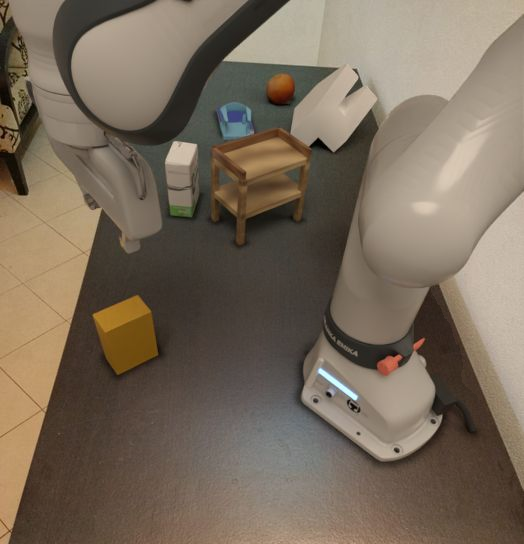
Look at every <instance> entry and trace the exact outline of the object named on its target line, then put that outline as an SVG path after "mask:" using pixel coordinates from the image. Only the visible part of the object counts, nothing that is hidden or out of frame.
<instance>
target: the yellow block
mask: <svg viewBox="0 0 524 544" xmlns="http://www.w3.org/2000/svg"><path fill="white" fill-rule="evenodd" d="M92 318H93V321H94V325H95V328H96V332H97V334H98V338H99V341H100V344H101V348H102V351H103V354H104V357H105V360H106V361H107V362H108V364H109V365H110V367H111V368H112V369H113V371H114V373H115V374H116V375H117V376H119V375H121V374H124V373H125V372H127V371H129V370H131V369H134V368H135V367H138V366H139V365H142V364H143V363H145V362H148V361H149V360H152V359H153V358H155V357H158V356H159V351H158V344H157V338H156V332H155V331H156V330H155V326H154V319H153V314H152V310H151V309H150V308H149V307H148V306H147V305H146V303H145V302H144V301H143V300H142V298H141V297H140V295H139V294H137V295H134V296H131V297H129V298H127V299H125V300H123V301H121V302H118V303H115V304H114V305H111V306H109V307H106V308H104V309H102V310H99V311H97V312H94V313H93V314H92Z"/></svg>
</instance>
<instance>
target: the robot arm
mask: <svg viewBox="0 0 524 544" xmlns="http://www.w3.org/2000/svg"><path fill="white" fill-rule="evenodd" d="M290 1H291V0H7V2H8V5H9V9H10V12H11V16H12V20H13V23H14V24H15V26H16V28H17V30H18V32H19V34H20V35H21V38H22V39H23V42H24V44H25V47H26V51H27V60H28V63H27V71H28V75H26V76H24V77H23V83H24V87H25V90H26V94H27V96H28V98H29V99H30V101H31V102H32V103H33V105H34V106H35V108H36V109H37V112H38V116H39V117H40V121H41V123H42V127H43V129H44V131H45V134H46V137H47V139H48V142H49V144H50V147H51V148H52V151H53V153H54V155H56V157H57V158H58V159H59V161H60V162H61V163H62V164H63V165H64V167H66V169H67V170H68V171H69V172H70V173H71V174H72V176H73V177H74V179H75V181H76V183H77V186H78V188H79V190H80V191H81V194H82V198H83V202H84V204H85V205H86V206H87V207H88V209H90V210H91V211H95V210H97V209H102V210H103V211H104V213H106V215H107V216H108V217H109V218H110V219H111V221H112V222H113V223H114V224H115V225H116V226H117V227H118V228H119V230H120V231H121V233H120V234H118V239H119V244H120V246H121V247H122V249H123V250H124V251H125V252H126V254H132V253H135V252H137V251H139V250H140V249H141V240H143V239H147V238H149V237H152V236H154V235H156V234H158V233H160V231H161V230H162V228H163V218H162V217H163V216H162V211H161V206H160V205H161V204H160V198H159V194H158V187H157V184H156V180H155V176H154V173H153V171H152V168H151V166H150V165H149V162H148V161H147V160H146V159H145V157H143V156H142V154H140V153H139V152H138V151H137V150H136V149H135V148H134V146H132V145H131V144H133V145H137V146H143V147H144V146H145V147H150V146H151V147H152V146H159V145H160V146H161V145H163V144H167V143H168V142H170V141H172V140H174V139H176V138H177V137H178V136H180V134H181V133H182V132H183V131H184V130H185V129H186V127H187V125H188V124H189V122H190V120H191V118H192V116H193V115H194V113H195V110H196V108H197V106H198V104H199V101H200V98H201V97H202V95H203V93H204V92H205V90H206V88H207V87H208V85H209V83H210V82H211V81H212V79H213V77H214V75H215V74H216V73H217V71H218V69H219V68H220V66H221V65H222V62H223V61H224V60H225V59H226V58H227V57H228V56H229V55H230V54H231V53H233V51H234V50H235V49H237V48H238V47H239V46H240V45H241V44H242V43H243V42H244V41H246V40H247V39H248V38H249V37H251V35H253V34H254V33H255V32H256V31H257V30H258V29H260V27H262V26H263V25H264V24H265V23H266V22H268V20H270V19H271V18H272V17H273V16H274V15H275V14H277V12H279V11H280V10H282V8H284V6H286V5H287V4H289V2H290ZM523 193H524V13H523V14H521V16H520V17H518V18H517V19H516V20H515V21H514V22H513V23H512V24H511V25H509V27H508V28H507V29H505V30H504V31H503V32H502V33H501V34H500V35H499V36H498V37H497V38H495V39H494V41H492V43H491V44H489V46H488V47H487V49H486V50H485V52H484V53H483V54H482V55H481V57H480V59H479V61H478V63H477V64H476V66H475V67H474V69H473V70H472V71H471V73H470V74H469V75H468V76H467V78H466V79H465V81H464V82H463V83H462V84H461V85H460V87H459V88H458V89H457V90H456V92H455V93H454V94H453V96H451V98H450V99H448V98H445V97H442V96H440V95H435V94H419V95H415V96H412V97H409V98H407V99H405V100H403V101H401V102H400V103H399V104H398V105H396V106H395V107H394V108H393V109H392V110H390V112H389V113H388V114H387V116H386V117H385V118H384V120H383V121H382V123H381V124H380V126H379V127H378V129H377V131H376V132H375V134H374V136H373V139H372V142H371V145H370V147H369V152H368V156H367V159H366V163H365V167H364V171H363V176H362V180H361V182H360V187H359V191H358V194H357V195H358V196H357V199H356V203H355V208H354V211H353V215H352V219H351V223H350V227H349V231H348V235H347V238H346V239H347V240H346V244H345V249H344V252H343V256H342V258H341V259H342V260H341V264H340V267H339V271H338V275H337V278H336V282H335V286H334V289H333V293H332V295H331V296H330V298H329V299H328V301H327V304H326V308H325V311H324V314H323V318H322V323H321V324H322V325H321V326H322V329H321V332H320V334H319V336H318V338H317V340H316V341H315V343H314V345H313V347H312V348H311V349H310V350H309V352H308V353H307V354H306V357H305V359H304V361H303V366H302V374H303V381H304V383H303V387H302V390H301V394H300V401H301V403H302V404H303V405H304V406H306V407H307V408H309V410H311V411H313V412H314V414H316V415H317V416H319V417H320V418H322V419H323V420H324V421H325V422H326V423H328V424H330V425H331V426H332V427H333V428H335V429H336V430H337V431H339V433H342V434H343V435H344V436H345V437H347V438H348V439H349V440H351V441H352V442H353V443H355V444H356V445H357V446H358V447H359V448H361V449H362V450H363V451H365V452H366V453H367V454H369V455H370V456H372V457H373V458H374V459H375V460H377V461H379V462H383V463H384V462H394V461H399V460H401V459H402V460H403V459H404V458H406V457H408V456H410V455H412V454H414V453H415V452H416V451H418V450H419V449H421V448H422V447H423V446H424V445H426V444H427V443H428V442H429V441H430V440H431V439H432V437H434V435H435V434H436V432H437V431H438V429H439V427H440V425H441V423H442V421H443V415H444V414H447V413H450V412H451V411H452V409H453V408H454V406H456V407H457V408H458V409H459V410H460V412H461V413H462V416H463V417H464V420H465V423H466V427H467V430H468V432H470V433H472V432H475V431H476V427H475V423H474V421H473V418H472V415H471V413H470V411H469V410H468V407H467V406H466V405H465V403H464V402H463V401H462V400H461V399H459V397H457V396H456V395H454V393H453V391H452V390H451V389H450V388H449V387H448V385H447V383H445V381H444V380H443V378H442V377H441V376H440V375H439V374H438V372H435V373H433V374H429V372H428V370H427V361H426V359H425V357H424V356H422V355H420V354H418V351H417V350H419V348H421V346H422V345H423V343H424V341H425V340H426V338H425V337H423V338H421V339H419V340H418V341H417V342H415V325H414V321H415V319H416V317H417V315H418V313H419V311H420V308H421V306H422V304H423V303H424V300H425V298H426V296H427V294H428V292H429V290H430V288H431V287H433V286H438V285H439V284H442V283H444V282H447V281H448V280H450V279H452V278H453V277H454V276H456V275H457V274H458V273H459V272H460V271H461V270H462V269H463V268H464V267H465V266H466V264H467V263H468V262H469V260H470V258H471V256H472V255H473V252H474V250H475V249H476V247H477V245H478V244H479V242H480V241H481V240H482V238H483V237H484V235H485V234H486V232H487V231H488V230H489V229H490V227H491V226H492V225H493V224H494V223H495V221H497V219H499V217H500V216H501V215H502V214H503V213H505V211H506V210H507V209H508V208H509V207H510V206H511V205H512V204H513V203H514V202H515V201H516V200H517V199H518V198H519V197H520V196H521V195H522V194H523ZM396 451H397V452H396Z"/></svg>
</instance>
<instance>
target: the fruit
mask: <svg viewBox="0 0 524 544" xmlns="http://www.w3.org/2000/svg"><path fill="white" fill-rule="evenodd" d="M265 86H266V87H265V90H266V93H267V97H268V99H269V100H270V101H271V102H272V103H273V104H275V105H278V106H279V105H280V106H281V105H282V106H283V105H287V104H288V105H290V103H291V100H292V98H293V97H294V95H295V92H296V84H295V81H294V79H293V78H292V77H291V75H289V74H288V73H278V74H277V73H276V74H275V75H273V76H272V77H271V78H270V79H269V80H268V81H267V83H266V85H265Z"/></svg>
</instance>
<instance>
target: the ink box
mask: <svg viewBox="0 0 524 544" xmlns="http://www.w3.org/2000/svg"><path fill="white" fill-rule="evenodd" d="M164 168H165V177H166V178H165V179H166V189H167V199H168V207H169V208H168V209H169V215H170V216H173V217H183V218H193V217H194V213H195V210H196V207H197V203H198V200H199V196H200V177H199V174H200V173H199V149H198V144H197V143H191V142H185V141H178V140H174V141H172V144H171V146H170V149H169V150H168V152H167V156H166V158H165V160H164Z"/></svg>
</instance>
